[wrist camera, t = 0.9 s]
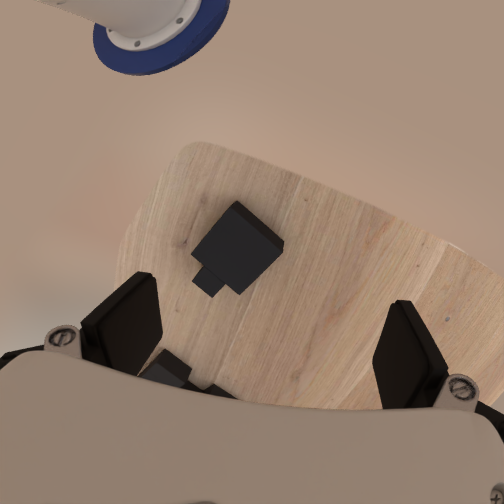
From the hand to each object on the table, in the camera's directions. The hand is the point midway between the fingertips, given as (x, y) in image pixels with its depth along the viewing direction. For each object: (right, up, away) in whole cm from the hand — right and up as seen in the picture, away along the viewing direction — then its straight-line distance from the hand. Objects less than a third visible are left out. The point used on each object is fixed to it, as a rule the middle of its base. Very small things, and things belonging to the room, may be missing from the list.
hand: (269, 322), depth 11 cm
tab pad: (-3, +3, +20) cm, 21 cm away
